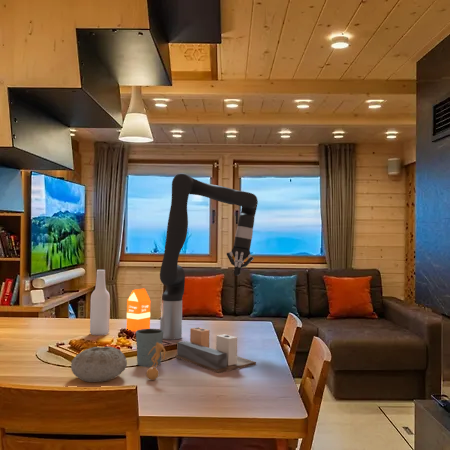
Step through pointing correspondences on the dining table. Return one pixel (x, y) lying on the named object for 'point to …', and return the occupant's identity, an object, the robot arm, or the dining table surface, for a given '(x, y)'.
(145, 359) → the blue-grey cup
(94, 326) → the alcohol
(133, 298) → the orange juice
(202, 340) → the two dot button
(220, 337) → the one dot button
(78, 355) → the grey rounded rock
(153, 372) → the figurine
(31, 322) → the dining table surface
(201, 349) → the console
